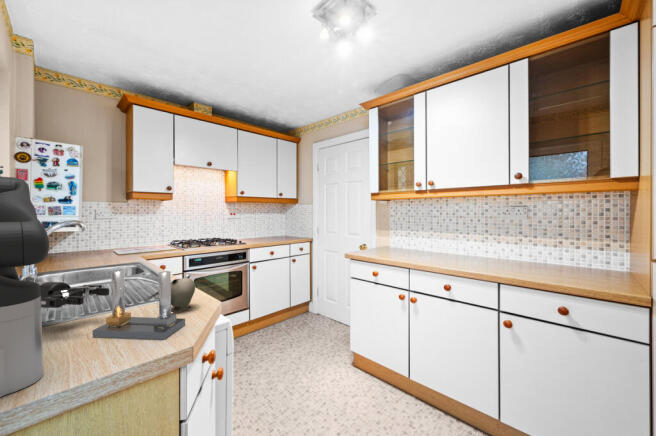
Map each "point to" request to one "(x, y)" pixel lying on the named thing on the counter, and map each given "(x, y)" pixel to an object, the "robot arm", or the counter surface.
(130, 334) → the pitch plate
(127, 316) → the sliding leg
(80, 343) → the counter surface
